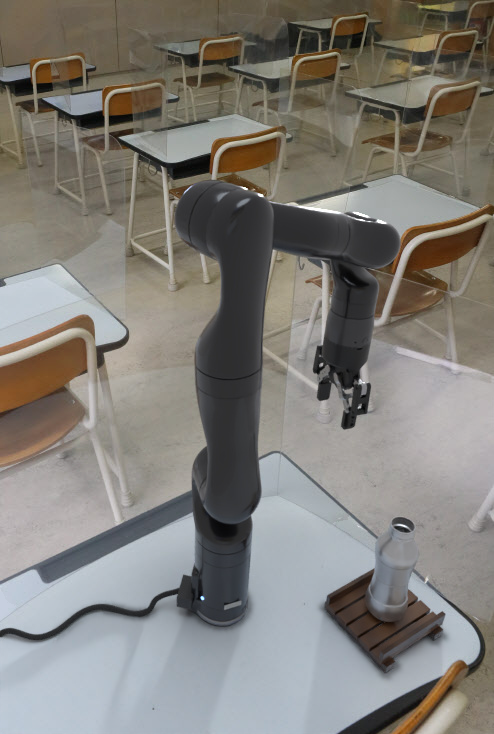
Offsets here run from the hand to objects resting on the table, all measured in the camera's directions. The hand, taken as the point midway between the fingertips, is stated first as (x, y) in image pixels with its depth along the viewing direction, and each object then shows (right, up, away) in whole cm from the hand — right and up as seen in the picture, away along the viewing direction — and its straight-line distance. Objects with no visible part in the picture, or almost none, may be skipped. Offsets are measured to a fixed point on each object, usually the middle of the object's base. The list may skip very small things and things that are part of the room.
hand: (334, 413), depth 120 cm
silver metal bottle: (+7, -32, -6) cm, 34 cm away
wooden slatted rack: (+7, -34, -5) cm, 35 cm away
